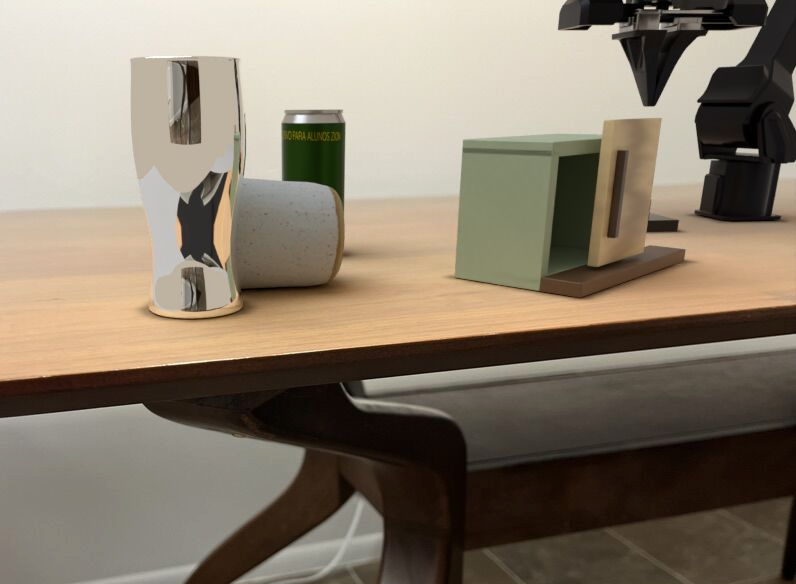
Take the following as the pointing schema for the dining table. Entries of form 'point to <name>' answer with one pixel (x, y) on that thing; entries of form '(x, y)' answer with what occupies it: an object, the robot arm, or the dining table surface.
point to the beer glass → (190, 178)
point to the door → (623, 189)
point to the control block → (661, 223)
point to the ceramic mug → (288, 234)
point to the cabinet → (538, 216)
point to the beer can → (314, 148)
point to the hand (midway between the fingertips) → (649, 106)
